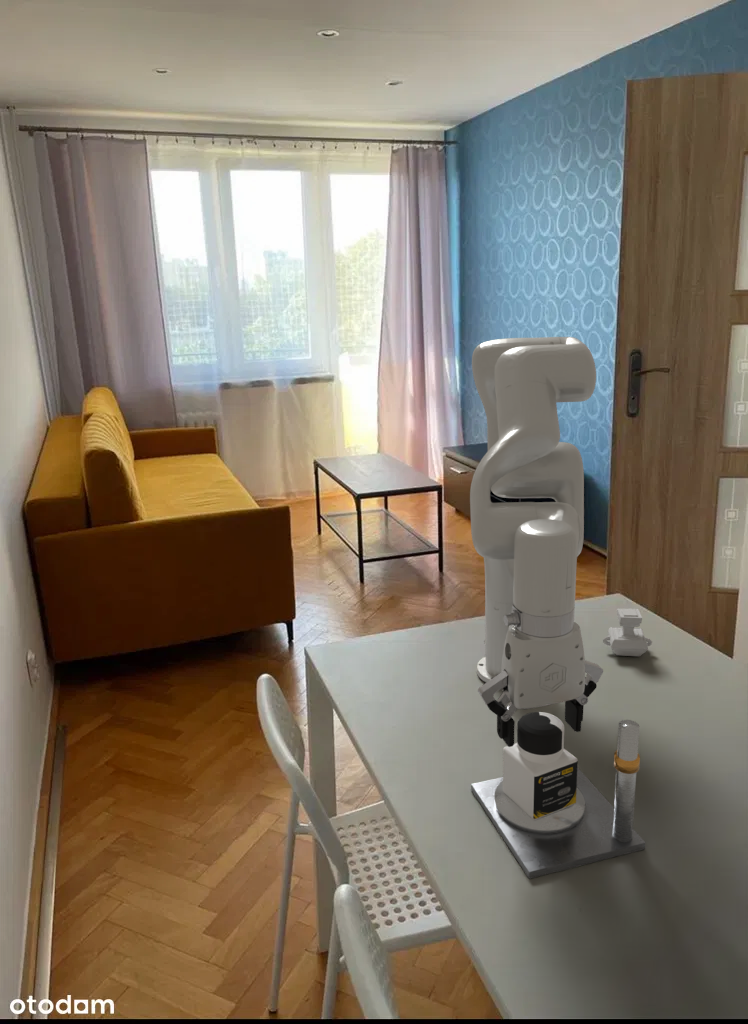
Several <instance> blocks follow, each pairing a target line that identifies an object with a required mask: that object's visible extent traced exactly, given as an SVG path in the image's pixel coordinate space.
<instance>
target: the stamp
mask: <svg viewBox="0 0 748 1024" xmlns="http://www.w3.org/2000/svg"><path fill="white" fill-rule="evenodd" d="M616 616H617V620H618V623H619V626H620V627H619V626H610V627H609V628H608V630H607V636H605V637H604V638H603V639H602V643H603V644H604V645H607V646H610V648H611V650H612V652H613V653H614V654H615V655H616V656H623V657H625V656H626V657H627V656H628V657H641V656H642V655H643V654H644V653H646V652H647V651H648V650H649V647H650V646H651V645H652V644H653V641H652V639H651V638H648V637H646V636H645V634H644V631H643V628H642V627H640V626H641V624H642V621H643V616H642V614H641V612H640V609H639V608H616Z"/></svg>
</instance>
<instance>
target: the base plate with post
mask: <svg viewBox="0 0 748 1024" xmlns="http://www.w3.org/2000/svg"><path fill="white" fill-rule="evenodd" d="M639 737H640V724H639V723H638V722H636V721H634V720H631V719H622V720H620V721H619V722H618V730H617V745H616V746H617V749H616V750H614V756H613V767H614V768H615V783H614V784H615V785H614V798H613V799H614V802H613V805H612V804H611V803H610V802H609V800H608V799H606V797H605V796H604V795H603V794H602V793H601V792H600V790H599V789H598V788H597V787H596V786H595V785H594V784H593V783H592V782H591V781H590V780H589V779H588V777H587V776H586V775H585V774H584V773H583V772H582V771H581V769H580V768H579V767H578V766H577V790H576V804H574V805H572V806H569V807H567V808H564V809H562V810H559V811H557V812H554V813H552V814H549V815H547V816H544V817H542V818H539V819H537V820H533V819H532V818H531V817H530V816H528V815H527V814H526V813H525V812H524V811H523V810H522V809H521V808H520V807H519V806H518V805H517V804H516V803H515V802H514V801H513V800H512V799H510V798H509V797H508V796H507V795H506V794H505V793H504V792H503V776H502V777H500V776H499V777H497V778H491V779H488V780H487V779H486V780H483V781H478V782H474V783H470V787H471V789H470V791H471V792H472V793H473V794H474V797H475V798H476V799H477V801H478V802H479V804H480V806H481V807H482V809H483V810H484V811H485V813H486V815H487V816H488V818H489V819H490V821H491V822H492V824H493V826H494V828H495V829H496V830H497V832H498V833H499V835H500V836H501V838H502V839H503V842H504V843H505V844H506V846H507V847H508V848H509V850H510V852H511V853H512V855H513V857H514V858H515V859H516V861H517V862H518V864H519V866H520V867H521V868H522V870H523V872H524V873H525V875H526V876H527V878H528V879H533V878H537V877H541V876H545V875H549V874H552V873H556V872H560V871H565V870H568V869H573V868H576V867H579V866H584V865H588V864H592V863H595V862H600V861H603V860H608V859H612V858H615V857H619V856H623V855H627V854H631V853H635V852H639V851H642V850H643V851H644V850H646V841H645V840H644V839H643V838H642V836H640V835H639V834H638V833H637V832H636V830H635V829H634V815H635V814H634V813H635V798H636V783H637V773H638V772H639V771H640V763H641V756H640V755H641V754H639V739H640V738H639Z"/></svg>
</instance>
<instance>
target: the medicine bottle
mask: <svg viewBox="0 0 748 1024" xmlns="http://www.w3.org/2000/svg"><path fill="white" fill-rule="evenodd" d="M516 724H517V725H516V731H517V732H516V743H515V742H514V745H513V746H512V747H508V745H506V746H504V747H503V750H502V777H503V792H504V793H505V794H506V795H507V796H508V797H509V798H510V799H512V800H513V801H514V802H515V803H516V804H517V805H518V806H519V807H520V808H521V809H522V810H523V811H524V812H525V813H526V814H527V815H528V816H530V817H531V818H532V819H533V820H537V819H539V818H542V817H544V816H547V815H549V814H552V813H554V812H557V811H559V810H562V809H564V808H567V807H569V806H572V805H574V804H576V790H577V767H578V765H579V764H578V763H579V762H578V760H579V759H578V758H577V757H576V756H574V755H573V754H572V753H571V752H570V751H568V750H567V749H565V748H564V745H565V743H564V742H565V725H564V723H563V721H562V720H561V719H560V718H559V717H557V716H556V715H553V714H552V713H549V712H544V711H543V712H541V711H534V712H529V713H525V714H523V715H522V716H521V717H519V719H518V720H517V723H516Z"/></svg>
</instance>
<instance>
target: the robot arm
mask: <svg viewBox="0 0 748 1024" xmlns="http://www.w3.org/2000/svg"><path fill="white" fill-rule="evenodd" d="M596 369H597V368H596V363H595V359H594V356H593V354H592V352H591V349H589V347H588V346H587V345H586V344H585V343H584V342H583V341H581V340H580V339H578V338H577V337H573V336H550V337H549V336H545V337H543V336H542V337H540V336H539V337H511V338H510V337H508V338H507V337H506V338H498V339H490V340H488V341H484V342H481V343H479V344H478V345H477V346H476V347H475V348H474V350H473V352H472V356H471V370H472V376H473V381H474V384H475V387H476V390H477V393H478V395H479V399H480V400H481V404H482V405H483V409H484V412H485V417H486V424H487V433H486V434H487V437H486V438H487V439H486V440H487V451H486V453H485V454H484V455H483V457H482V458H481V460H480V461H479V463H478V465H477V466H476V468H475V471H474V473H473V476H472V480H471V482H470V483H471V484H470V490H469V504H470V505H469V507H470V511H469V512H470V532H471V540H472V544H473V547H474V550H475V551H476V553H477V554H478V555H479V556H481V557H483V564H484V580H485V581H484V587H485V588H484V591H485V593H484V599H485V601H484V602H485V603H484V607H485V609H484V617H485V619H484V622H485V624H484V627H485V628H484V633H485V634H484V640H483V644H484V646H485V647H484V648H485V649H484V655H485V656H483V657H482V658H481V659H480V660H478V661H477V664H476V673H477V677H479V678H480V680H482V681H483V682H485V683H484V684H483V685H481V686H479V688H478V689H477V692H478V695H479V696H480V697H481V699H482V701H483V703H484V704H485V705H486V707H487V708H488V709H489V710H490V712H492V713H493V714H494V715H496V733H497V736H498V737H499V738H500V739H501V740H503V741H504V743H505V744H506V746H508V747H512V746H513V745H514V744H515V720H514V718H513V716H514V714H515V713H516V712H517V710H531V709H535V708H540V707H544V706H549V705H550V706H551V705H555V704H559V703H565V704H564V705H565V706H564V721H565V722H566V724H567V725H568V727H570V728H571V729H572V730H573V731H574V732H576V733H579V732H581V731H582V722H583V721H584V705H587V703H588V702H589V697H590V696H591V694H592V693H593V692H594V691H595V690H596V689H597V683H598V682H599V681H600V679H601V677H602V675H603V673H604V669H603V668H602V667H601V666H600V665H599V664H597V663H595V662H594V663H593V662H591V661H588V660H585V659H586V658H585V649H584V641H583V636H582V632H581V631H582V630H581V628H580V625H579V624H578V623H576V622H575V608H576V607H575V606H576V588H577V587H576V585H577V584H576V583H577V563H578V562H577V561H578V560H577V559H578V557H579V555H580V554H581V553H582V550H583V545H584V534H585V529H584V528H585V526H584V525H585V518H584V517H585V503H584V502H585V496H584V494H585V488H584V487H585V475H584V474H585V472H584V463H583V458H582V455H581V452H580V450H579V448H578V447H576V446H575V445H574V444H573V443H570V442H564V441H560V440H561V431H560V423H559V417H558V407H557V403H579V402H580V403H581V402H586V401H587V400H589V399H590V398H591V397H592V396H593V394H594V392H595V389H596V382H597V370H596ZM491 492H492V493H493V494H494V495H495V496H497V497H499V498H504V499H505V498H506V499H553V500H554V501H542V502H539V501H537V502H535V501H518V502H516V501H515V502H514V501H513V502H512V501H511V502H509V501H508V502H507V501H506V502H493V501H492V499H491ZM500 691H501V692H502V694H500V696H499V698H498V699H495V698H494V695H495V694H496V693H498V692H500Z"/></svg>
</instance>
